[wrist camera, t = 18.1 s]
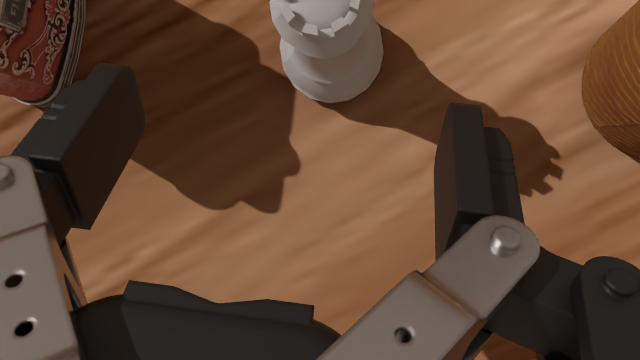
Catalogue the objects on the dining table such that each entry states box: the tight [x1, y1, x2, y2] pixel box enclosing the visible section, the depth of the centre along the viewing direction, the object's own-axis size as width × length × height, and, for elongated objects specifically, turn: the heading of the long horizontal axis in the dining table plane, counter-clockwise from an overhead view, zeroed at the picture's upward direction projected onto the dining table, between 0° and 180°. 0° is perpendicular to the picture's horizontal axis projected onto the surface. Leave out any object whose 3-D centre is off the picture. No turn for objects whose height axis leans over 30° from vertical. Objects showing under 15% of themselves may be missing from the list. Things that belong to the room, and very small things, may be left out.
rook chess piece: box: [270, 0, 384, 103], centre depth 20 cm, size 4×4×8 cm
